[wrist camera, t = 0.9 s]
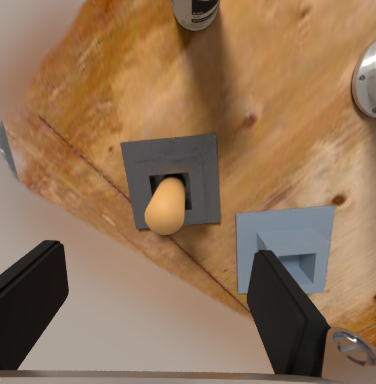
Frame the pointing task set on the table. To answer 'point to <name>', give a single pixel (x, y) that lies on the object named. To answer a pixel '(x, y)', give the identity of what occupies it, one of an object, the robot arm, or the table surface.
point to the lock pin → (167, 205)
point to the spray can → (195, 13)
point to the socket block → (286, 243)
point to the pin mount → (169, 164)
